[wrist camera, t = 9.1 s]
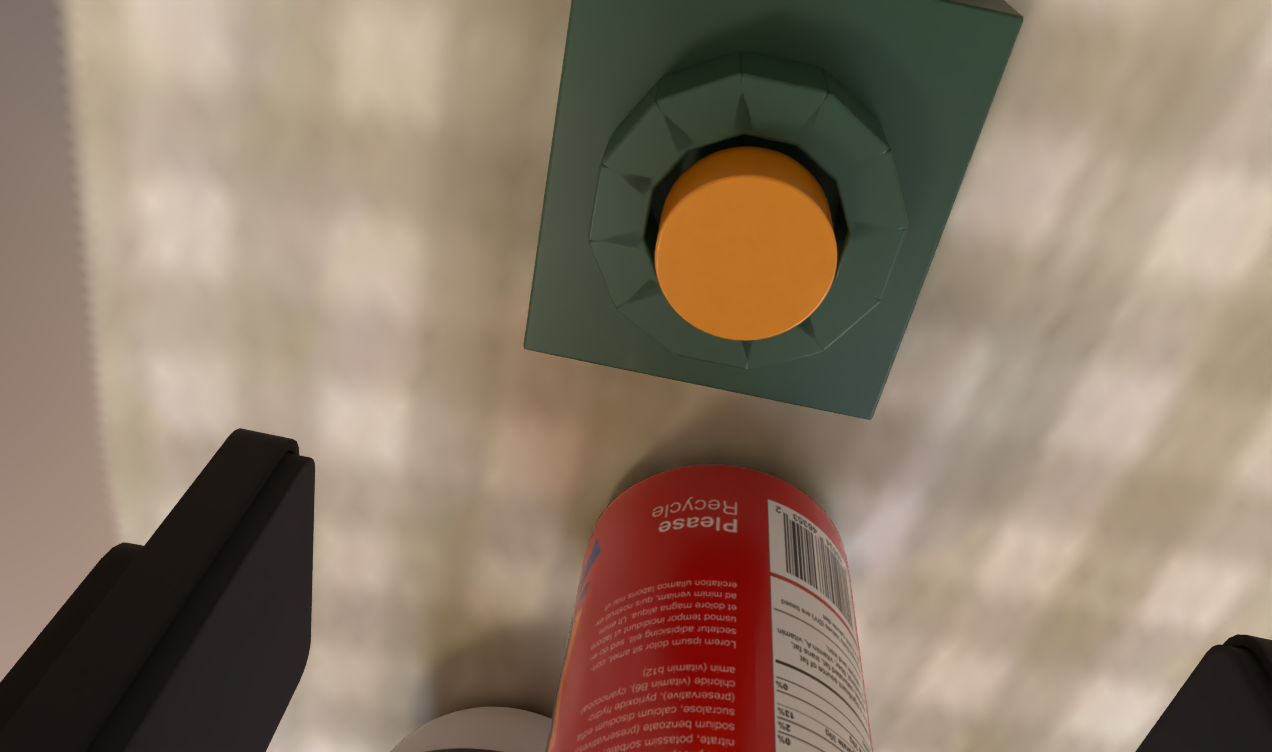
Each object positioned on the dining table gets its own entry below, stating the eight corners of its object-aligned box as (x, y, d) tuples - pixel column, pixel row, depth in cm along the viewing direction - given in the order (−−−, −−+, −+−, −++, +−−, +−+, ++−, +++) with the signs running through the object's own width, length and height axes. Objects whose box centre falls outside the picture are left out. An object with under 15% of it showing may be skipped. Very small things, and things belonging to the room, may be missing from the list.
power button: (679, 128, 20) (674, 157, 18) (852, 165, 20) (861, 197, 18) (646, 285, 22) (639, 322, 20) (804, 317, 22) (809, 357, 20)
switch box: (596, -91, 21) (568, -65, 18) (1001, -5, 21) (1050, 37, 18) (537, 309, 26) (507, 388, 23) (862, 376, 27) (880, 464, 23)
